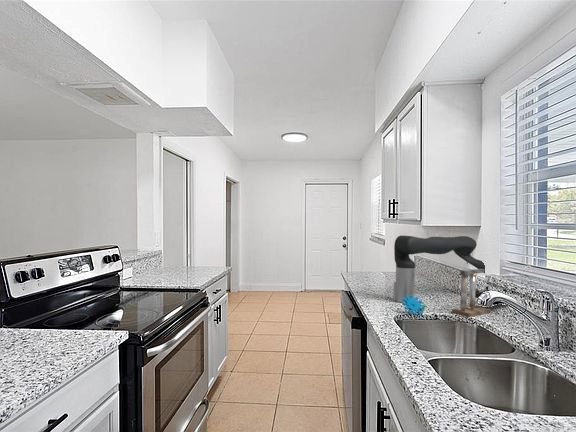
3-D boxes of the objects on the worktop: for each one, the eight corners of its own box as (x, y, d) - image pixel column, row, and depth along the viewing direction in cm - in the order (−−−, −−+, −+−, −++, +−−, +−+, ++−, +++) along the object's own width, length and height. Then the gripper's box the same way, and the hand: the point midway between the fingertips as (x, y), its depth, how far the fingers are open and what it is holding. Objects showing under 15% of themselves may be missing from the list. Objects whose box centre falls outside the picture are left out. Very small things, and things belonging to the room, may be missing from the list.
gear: (404, 311, 161) (401, 292, 168) (399, 318, 165) (397, 299, 172) (429, 315, 162) (425, 296, 169) (424, 322, 166) (420, 303, 173)
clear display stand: (473, 308, 177) (474, 267, 177) (489, 312, 171) (491, 270, 171) (451, 312, 168) (452, 269, 168) (468, 317, 161) (469, 272, 161)
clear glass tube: (470, 307, 172) (471, 273, 172) (477, 308, 169) (478, 274, 169) (466, 307, 170) (467, 273, 170) (473, 309, 168) (474, 274, 168)
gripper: (483, 282, 187) (463, 284, 177) (511, 286, 176) (491, 289, 166) (483, 297, 187) (463, 300, 177) (511, 302, 176) (491, 306, 166)
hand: (476, 295), depth 172 cm, fingers closed
